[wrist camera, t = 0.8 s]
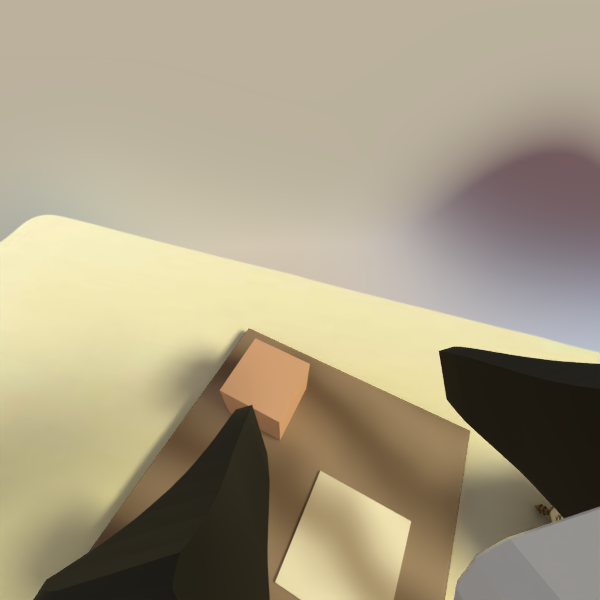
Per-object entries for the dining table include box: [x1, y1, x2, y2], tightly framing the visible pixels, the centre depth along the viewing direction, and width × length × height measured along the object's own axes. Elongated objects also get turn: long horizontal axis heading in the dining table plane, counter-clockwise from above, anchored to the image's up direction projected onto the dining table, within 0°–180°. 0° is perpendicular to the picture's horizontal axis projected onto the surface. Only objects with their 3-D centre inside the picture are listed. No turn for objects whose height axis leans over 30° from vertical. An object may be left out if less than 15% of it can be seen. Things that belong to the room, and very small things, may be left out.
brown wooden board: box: [89, 329, 470, 600], centre depth 21 cm, size 22×20×1 cm
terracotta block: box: [220, 338, 310, 440], centre depth 23 cm, size 4×4×4 cm
